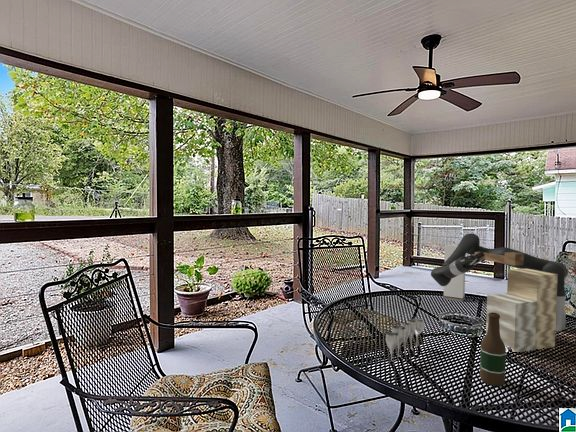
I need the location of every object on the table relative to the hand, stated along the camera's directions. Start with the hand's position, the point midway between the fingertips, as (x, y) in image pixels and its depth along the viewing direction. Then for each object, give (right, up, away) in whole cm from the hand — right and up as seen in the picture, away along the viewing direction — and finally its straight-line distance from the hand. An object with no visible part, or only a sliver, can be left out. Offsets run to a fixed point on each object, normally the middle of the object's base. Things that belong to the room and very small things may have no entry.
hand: (485, 253), depth 168 cm
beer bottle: (-22, -41, -43) cm, 63 cm away
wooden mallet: (+2, -3, -6) cm, 7 cm away
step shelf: (+10, -39, -9) cm, 42 cm away
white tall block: (+16, -37, +66) cm, 78 cm away
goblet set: (-46, -40, -23) cm, 65 cm away
